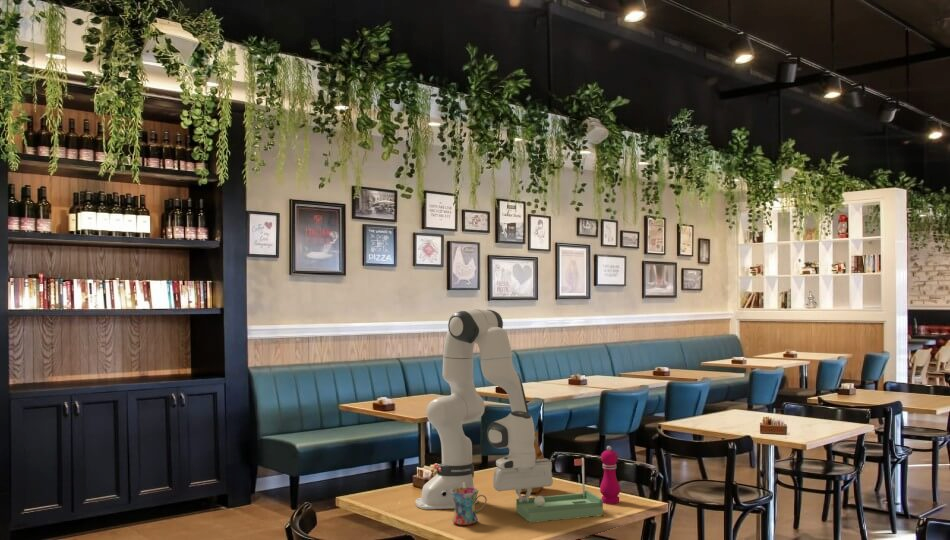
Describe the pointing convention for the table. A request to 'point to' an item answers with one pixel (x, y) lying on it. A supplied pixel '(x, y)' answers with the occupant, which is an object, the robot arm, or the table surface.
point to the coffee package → (537, 456)
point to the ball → (539, 501)
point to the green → (562, 505)
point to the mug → (465, 505)
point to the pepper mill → (609, 477)
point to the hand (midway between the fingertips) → (524, 501)
